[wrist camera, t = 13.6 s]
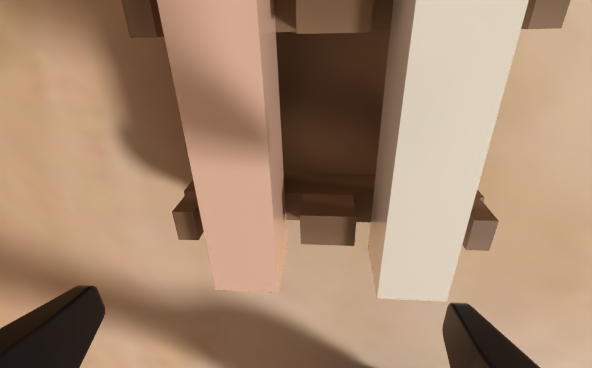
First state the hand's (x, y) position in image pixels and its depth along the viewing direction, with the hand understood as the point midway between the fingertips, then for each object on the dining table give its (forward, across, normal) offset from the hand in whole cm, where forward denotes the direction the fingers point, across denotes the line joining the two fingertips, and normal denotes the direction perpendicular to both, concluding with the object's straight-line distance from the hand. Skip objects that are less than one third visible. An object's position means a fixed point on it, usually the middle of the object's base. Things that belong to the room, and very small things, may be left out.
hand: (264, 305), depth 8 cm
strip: (+8, -5, -2) cm, 10 cm away
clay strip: (+8, +2, -2) cm, 9 cm away
